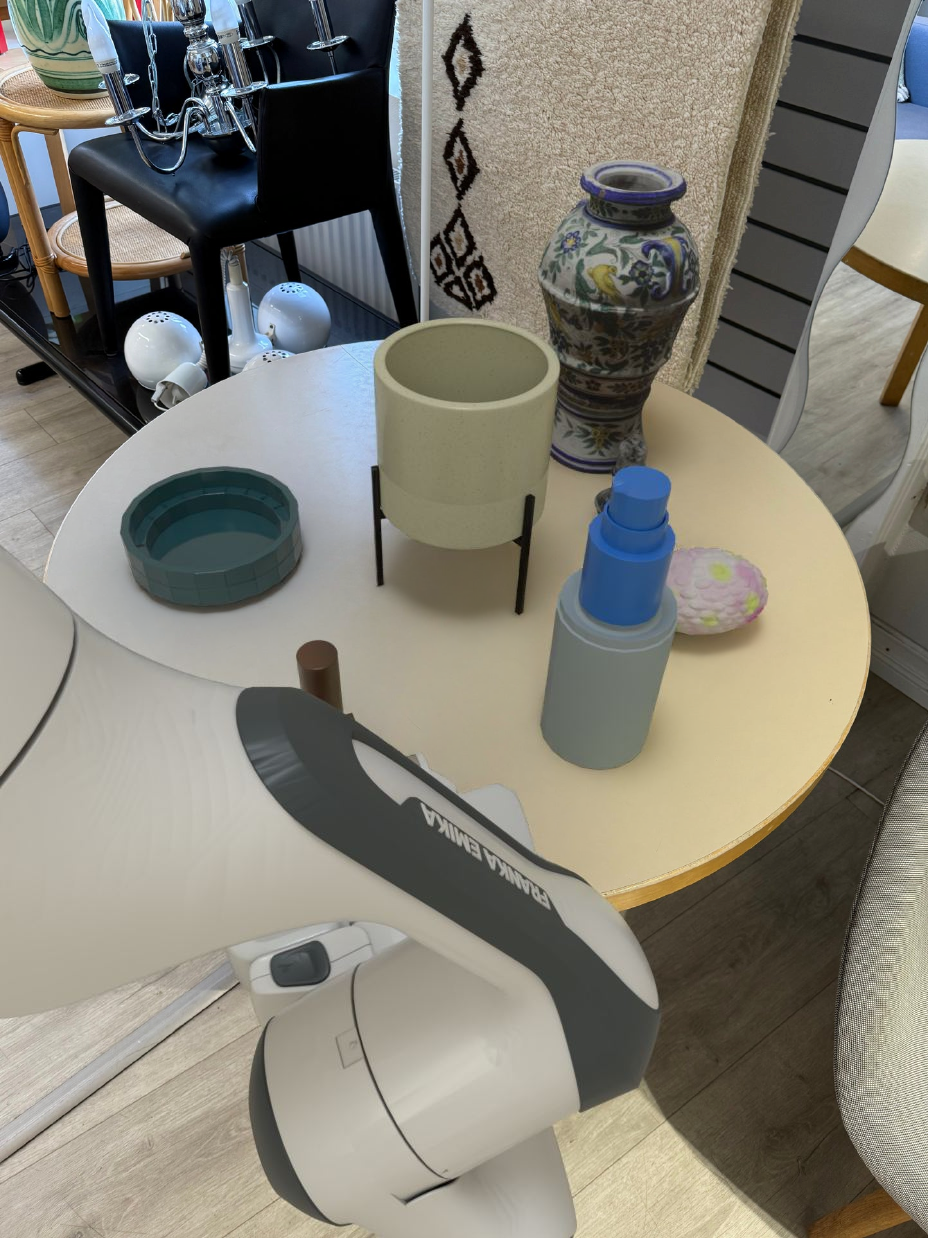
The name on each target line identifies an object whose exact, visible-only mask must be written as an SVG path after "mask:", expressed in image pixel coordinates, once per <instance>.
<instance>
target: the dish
mask: <svg viewBox="0 0 928 1238" xmlns="http://www.w3.org/2000/svg"><path fill="white" fill-rule="evenodd" d="M119 535H120V538H121V541H122V544H123V548H124V551H125V555H126V558H127V562H128V565H129V568H130V569H131V572H132V574H133V577H134V580H135V581H136V582H137V584H139V585H140V586H142V587H143V588H144V589H145V590H146V591H147V592H148V593H150V594H151V595H153V596H155V597H158V598H161V599H163V600H165V601H169V602H171V603H175V604H180V605H188V606H189V605H190V606H197V607H208V606H217V605H227V604H228V605H229V604H233V603H236V602H239V601H242V600H246V599H250V598H252V597H255V596H258V595H260V594H262V593H264V592H265V591H266V590H268V589H270V588H272V587H274V586H276V585H277V584H279V583H280V582H282V580H284V578H285V577H286V576H287V575H288V574H290V572H291V571H292V570H293V569H294V568H295V567H296V565H297V562H298V560H299V558H300V555H301V553H302V551H303V538H302V529H301V520H300V511H299V502H298V499H297V498H296V497H295V495H294V494H293V492H292V490H291V489H290V488H289V486H288V485H286V484H285V483H283V482H282V481H281V480H280V479H277V478H276V477H274V476H273V475H272V474H271V475H270V474H267V473H264V472H262V471H258V470H255V469H253V468H250V467H249V468H247V467H239V466H229V465H221V466H220V465H219V466H208V467H199V468H198V467H197V468H194V469H189V470H185V471H182V472H178V473H174V474H172V475H169V476H168V477H165V478H164V479H161V480H159V481H157V482H155V483H153V484H151V485H149V486H148V487H146V488H145V489H144V490H143V491H141V492H140V493H139V494H138V495H137V496H135V497H134V498H133V499H132V500H131V502H130V503H129V505H128V506H127V508H126V509H125V511H123V514H122V516H121V522H120V529H119Z"/></svg>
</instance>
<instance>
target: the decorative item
mask: <svg viewBox="0 0 928 1238" xmlns="http://www.w3.org/2000/svg"><path fill="white" fill-rule="evenodd" d="M666 585H667V586H668V587H669V588H670V589H671V590H672V592H673V594H674V596H675V599H676V601H677V627H676V631H675V633H683V634H685V635H690V636H698V635H700V636H701V635H702V636H704V635H715V634H721V633H725V632H729V631H732V630H735V629H738V628H741V627H743V626H745V625H747V624H748V623H751V622H753V621H755V619H757V618H758V616H759V615H760V614H761V613H762V612H763V610H764V608H765V606H767V604H768V599H769V590H768V589H767V588H768V585H767V578H766V577H765V576H763V572H762V571H761V569H760V568H759V567H758V566H757V565H755V564H753V563H751V562H750V561H749V560H748V559H747V558H745V557H743V556H742V555H740V554H735V553H734V552H733V551H729V550H726V549H725V550H724V549H720V548H717V547H708V548H705V547H701V546H695V547H692V548H689V549H688V548H679V549H677V550H676V551H675V550H674V551H673V556H672V560H671V564H670V568H669V572H668V576H667V580H666Z"/></svg>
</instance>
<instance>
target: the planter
mask: <svg viewBox="0 0 928 1238" xmlns="http://www.w3.org/2000/svg"><path fill="white" fill-rule="evenodd" d="M372 361H373V363H372V365H373V387H374V408H375V409H374V410H375V411H374V412H375V415H374V416H375V436H376V438H375V439H376V458H377V461H376V462H377V464H376V465H370V475H371V477H370V481H371V495H372V497H371V500H372V517H373V518H372V519H373V520H372V521H373V537H374V541H373V542H374V558H375V559H374V560H375V561H374V562H375V577H376V578H375V579H376V580H375V581H376V585H377V586H378V587H379V586H380V587H381V586H383V585H385V581H384V578H385V577H384V557H383V556H384V554H383V533H382V532H383V531H382V530H383V529H382V520H387V521H388V522H389V523H390V524H391V525H392V526H393V527H394V528H395V529H397V530H398V531H399V532H401V533H402V534H404V535H405V536H407V537H409V538H411V539H413V540H415V541H417V542H419V543H423V544H426V545H430V546H432V547H433V546H434V547H438V548H443V549H450V550H479V549H486V548H493V547H496V546H500V545H504V544H506V543H509V542H512V543H514V544H515V545H517V546H518V547H520V549H519V550H520V551H519V552H520V553H519V563H518V573H517V582H516V583H517V584H516V592H515V603H514V614H516V615H518V616H521V615H522V614H523V613H524V610H525V600H526V589H527V581H528V570H529V562H530V552H531V543H532V534H533V533H532V532H533V527H534V526H535V525H536V524H537V522H539V520H540V518H541V516H542V514H543V512H544V509H545V503H546V494H547V486H548V478H549V470H550V460H551V456H550V453H551V444H552V435H553V427H554V418H555V409H556V402H557V392H558V383H559V375H560V362H559V359H558V356H557V354H556V353H555V351H554V350H553V349H552V347H551V346H550V345H549V342H546V340H544V339H542V337H540V336H538V335H536V334H535V333H533V332H531V331H529V330H527V329H524V328H522V327H519V326H517V325H513V324H511V323H507V322H502V321H498V320H493V319H488V318H487V319H486V318H476V317H446V318H437V319H431V320H425V321H421V322H418V323H414V324H411V325H408V326H406V327H403V328H401V329H399V330H397V331H395V332H393V333H391V334H390V335H389V336H387V337H386V338H385V339H384V340H383V341H382V342H380V344H379V345H378V347H377V348H376V350H375V352H374V355H373V360H372Z"/></svg>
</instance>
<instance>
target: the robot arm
mask: <svg viewBox="0 0 928 1238" xmlns="http://www.w3.org/2000/svg"><path fill="white" fill-rule="evenodd" d="M343 712H344V711H343ZM343 712H341V711H340V710H338V709H337V708H335V707H333V706H332V705H330V704H328V703H326V702H325V701H323V700H321V699H319V698H318V697H316V696H314V695H312V694H310V693H308V692H306V691H303V690H301V688H297V687H293V686H251V687H244V686H239V685H232V684H230V683H229V684H228V683H223V682H221V681H220V682H219V681H215V680H211V679H207V678H204V677H200V676H197V675H194V674H191V673H188V672H186V671H185V672H184V671H182V670H179V669H177V668H174V667H171V666H169V665H166V664H163V663H160V662H158V661H156V660H153V659H152V658H149V657H146V656H145V655H143V654H140V653H138V652H136V651H134V650H132V649H130V648H128V647H126V646H125V645H123V644H121V643H120V642H118V641H116V640H115V639H113V638H111V637H110V636H108V635H106V634H105V633H104V632H101V630H99V629H97V628H96V627H94V626H93V625H92V624H90V623H89V622H88V621H87V620H85V618H83V617H82V616H81V615H80V614H78V613H77V612H76V611H75V610H74V609H73V608H71V607H70V606H69V605H68V603H66V602H65V601H64V599H62V597H60V596H59V594H57V593H56V592H55V591H54V590H53V589H51V588H50V587H49V586H48V585H47V584H46V583H45V582H44V581H42V579H40V578H39V576H37V575H36V574H35V573H34V572H33V571H32V570H30V569H29V567H27V566H26V565H25V564H24V563H23V562H22V561H21V560H19V558H17V557H16V556H15V555H14V554H12V553H11V552H10V551H9V550H7V549H6V548H5V547H4V546H2V545H1V544H0V1020H7V1019H15V1018H22V1017H29V1016H34V1015H39V1014H42V1013H47V1012H51V1011H55V1010H58V1009H61V1008H64V1007H68V1006H72V1005H75V1004H78V1003H81V1002H84V1001H87V1000H90V999H92V998H96V997H98V996H101V995H104V994H106V993H109V992H112V991H115V990H117V989H120V988H122V987H125V986H128V985H130V984H133V983H136V982H139V981H141V980H144V979H146V978H149V977H151V976H155V975H157V974H159V973H162V972H166V971H168V970H169V969H173V968H175V967H177V966H181V965H183V964H186V963H189V962H192V961H194V960H196V959H197V960H198V959H200V958H203V957H206V956H208V955H212V954H214V953H217V952H218V953H219V952H220V951H224V952H225V954H226V957H227V960H228V962H229V964H230V967H231V969H232V972H233V973H234V976H235V978H236V979H237V981H238V982H239V984H240V985H241V986H242V987H243V988H244V989H245V990H246V991H248V992H249V995H250V1000H251V1004H252V1008H253V1012H254V1015H255V1018H256V1019H257V1021H258V1023H259V1025H260V1027H261V1028H262V1031H261V1034H260V1037H259V1039H258V1041H257V1044H256V1047H255V1050H254V1055H253V1056H252V1057H253V1058H252V1062H251V1068H250V1075H249V1081H248V1096H247V1097H248V1099H247V1101H248V1103H247V1104H248V1115H249V1121H250V1127H251V1132H252V1136H253V1141H254V1145H255V1149H256V1152H257V1155H258V1159H259V1161H260V1165H261V1167H262V1169H263V1171H264V1174H265V1177H266V1179H267V1180H268V1183H269V1184H270V1186H271V1188H272V1189H273V1191H274V1192H275V1194H276V1195H277V1196H278V1197H280V1198H281V1199H282V1200H284V1201H285V1202H286V1203H288V1204H289V1205H290V1206H292V1207H293V1208H294V1209H296V1210H298V1211H300V1212H301V1213H303V1214H305V1215H307V1216H309V1217H310V1218H312V1219H315V1220H317V1221H319V1222H322V1223H324V1224H328V1225H331V1226H333V1227H339V1228H340V1227H341V1228H342V1227H347V1226H351V1225H355V1226H358V1227H361V1228H363V1229H364V1230H367V1231H368V1232H370V1233H372V1234H373V1235H375V1236H377V1237H379V1238H574V1237H575V1235H576V1233H577V1230H578V1220H577V1213H576V1208H575V1204H574V1199H573V1195H572V1191H571V1187H570V1183H569V1179H568V1178H569V1177H568V1175H567V1171H566V1168H565V1164H564V1161H563V1160H564V1159H563V1156H562V1153H561V1150H560V1146H559V1143H558V1138H557V1135H556V1132H555V1130H554V1125H555V1124H557V1123H558V1122H560V1121H562V1120H564V1119H566V1118H568V1117H570V1116H571V1115H573V1114H575V1113H577V1112H579V1113H580V1114H582V1113H584V1112H586V1111H589V1110H591V1109H593V1108H595V1107H598V1106H600V1105H602V1104H604V1103H607V1102H609V1101H612V1100H614V1099H616V1098H618V1097H620V1096H623V1095H625V1094H627V1093H629V1092H632V1091H634V1090H637V1089H639V1087H640V1086H641V1083H642V1080H643V1078H644V1076H645V1073H646V1071H647V1068H648V1065H649V1063H650V1060H651V1057H652V1055H653V1052H654V1048H655V1045H656V1042H657V1038H658V1033H659V1030H660V1024H661V1021H662V1020H661V1019H662V1015H663V1004H662V1001H661V998H660V995H659V991H658V989H657V985H656V981H655V977H654V974H653V972H652V968H651V966H650V963H649V961H648V958H647V956H646V954H645V952H644V950H643V948H642V946H641V944H640V942H639V940H638V939H637V937H636V935H635V933H634V932H633V931H632V929H631V927H630V925H629V924H628V922H627V921H626V920H625V919H624V917H623V916H622V915H621V913H620V912H619V911H618V909H616V907H615V906H614V905H613V904H612V903H611V902H610V901H609V900H608V899H607V898H606V897H605V896H603V894H601V893H600V892H599V891H598V890H596V889H595V888H594V887H593V886H592V885H591V884H590V883H589V882H588V881H587V880H586V879H585V878H584V877H582V876H581V875H580V874H578V873H576V872H574V871H573V870H570V869H568V868H566V867H563V866H561V865H559V864H557V863H554V862H552V861H549V860H547V859H546V858H545V857H544V856H543V855H541V854H540V853H538V852H537V851H536V848H535V843H534V840H533V836H532V832H531V829H530V825H529V822H528V819H527V817H526V814H525V811H524V807H523V806H522V803H521V802H520V799H519V796H518V795H517V793H516V792H515V791H514V789H512V788H510V787H508V786H506V785H504V784H502V783H498V782H497V783H491V784H490V785H485V786H482V787H478V788H475V789H471V790H468V791H465V792H462V793H461V792H460V793H458V790H457V788H456V786H455V784H454V783H453V782H452V781H450V780H448V778H446V777H444V776H443V775H441V774H440V773H438V772H436V771H435V770H434V769H432V768H431V769H430V767H429V764H428V762H427V760H426V757H425V755H424V753H423V752H422V751H421V752H419V753H414V754H410V755H407V756H406V755H405V754H404V753H402V752H401V751H400V750H398V749H397V748H396V747H394V746H393V745H392V744H390V743H388V742H387V741H386V740H384V739H383V738H382V737H380V736H379V735H377V734H376V733H375V732H373V731H371V730H370V729H369V728H367V727H366V726H364V725H363V724H362V723H360V722H359V721H357V720H356V719H355V718H354V719H355V720H354V719H352V718H351V717H349V716H348V715H346V714H347V713H345V712H344V713H343Z"/></svg>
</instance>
